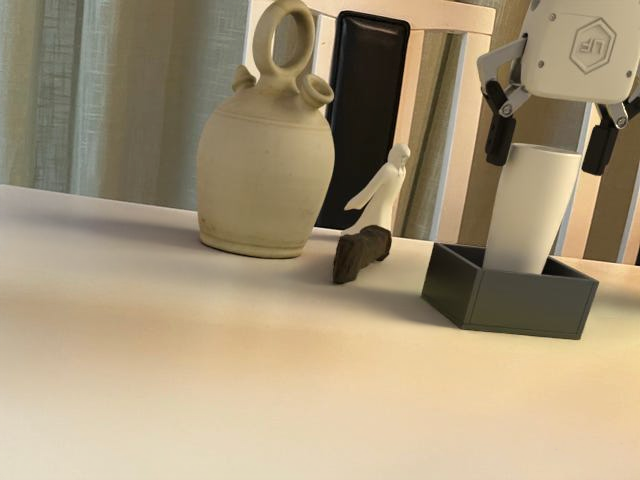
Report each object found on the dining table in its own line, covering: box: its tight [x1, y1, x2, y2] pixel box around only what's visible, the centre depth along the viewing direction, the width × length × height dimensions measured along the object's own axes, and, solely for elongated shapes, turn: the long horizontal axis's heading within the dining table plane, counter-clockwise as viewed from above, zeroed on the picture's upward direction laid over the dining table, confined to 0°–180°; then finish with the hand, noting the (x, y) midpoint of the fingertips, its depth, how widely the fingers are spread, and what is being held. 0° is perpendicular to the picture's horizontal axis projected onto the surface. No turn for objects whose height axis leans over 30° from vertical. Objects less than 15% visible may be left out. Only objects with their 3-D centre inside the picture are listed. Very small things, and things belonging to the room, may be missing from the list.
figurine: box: [339, 142, 411, 236], centre depth 127 cm, size 8×8×12 cm
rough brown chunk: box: [331, 225, 393, 283], centre depth 112 cm, size 19×4×5 cm, turn 155°
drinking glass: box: [482, 142, 583, 274], centre depth 97 cm, size 7×7×15 cm
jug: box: [195, 0, 336, 259], centre depth 112 cm, size 15×16×25 cm
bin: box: [420, 241, 600, 341], centre depth 100 cm, size 12×12×6 cm
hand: (543, 168), depth 94 cm, fingers open, 9 cm apart
